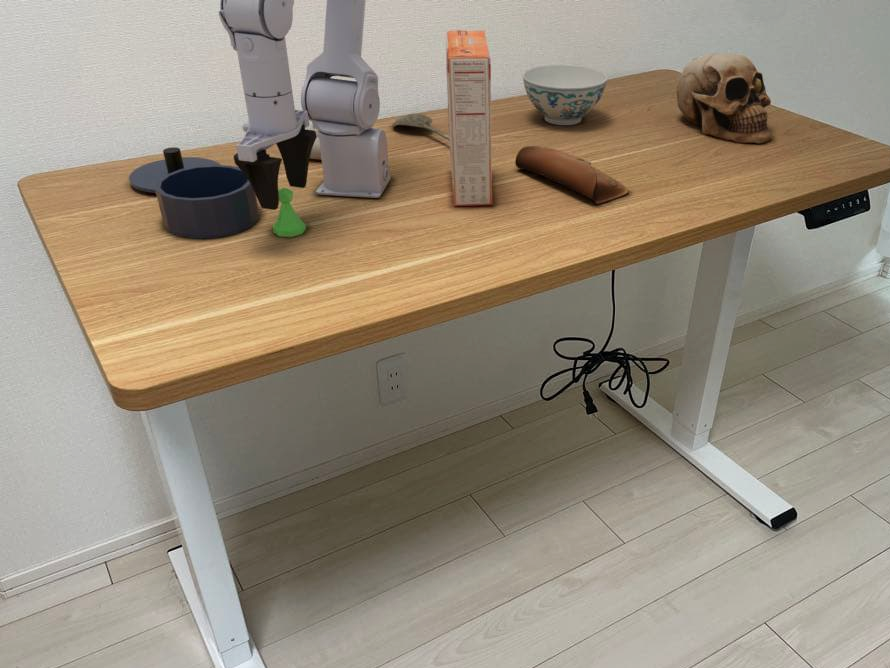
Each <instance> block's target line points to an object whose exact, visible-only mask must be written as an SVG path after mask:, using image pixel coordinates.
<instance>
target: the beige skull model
mask: <svg viewBox="0 0 890 668" xmlns="http://www.w3.org/2000/svg"><path fill="white" fill-rule="evenodd" d="M676 104H677V107H678V110H680V112H681V113H682V114H683V116H684V117H685V118H686V120H687V121H688V122H690V124H692V125H696V126H700V127H701V133H702V134H703V135H710V136H712V137H715V138H718V139H721V140H726V141H733V142H735V143H738V144H739V143H740V144H751V143H752V144H763V143H768V142H769V141H771V140H772V133H771V131H770V129H769V127H768V112H767V110H766V109H765V108H766V107H768V106H770V105H771V104H772V100H771V98H770V96H769V95H768V94H767V89H766V86H765V83H764V77H763V73H762V72H760V71H758V70H757V68H756V66H755V64H754V63H753V61H752V60H751V59H749V58H748V57H747V56H746V55H743V54H737V53H732V52H714V53H713V52H712V53H707V54H702V55H701V56H697V57H695V58H693V59H691V61H689V62H688V63H687V64H686V65H685V66H684V67H683V69H682V72H681V73H680V76H679V78H678V82H677V85H676Z"/></svg>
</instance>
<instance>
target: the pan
mask: <svg viewBox="0 0 890 668" xmlns="http://www.w3.org/2000/svg"><path fill="white" fill-rule="evenodd" d="M155 191H156V193H155V195H156V200H157V203H158V207H159V211H160V215H161V220H162V223H163V226H164V227H165V230H167V231H168V232H169V233H171V234H172V235H175V236H178V237H181V238H187V239H197V240H198V239H201V240H202V239H203V240H204V239H205V240H206V239H215V238H216V239H217V238H222V237H228V236H233V235H236V234H238V233H241V232H243V231H246V230H248V229H250V228H251V227H253V226H254V225H255V224H256V223H257V222H258V221H259V219H260V210H259V202H258V199H257V196H256V194H255V192H254V190H253V188H252V186H251V184H250V182H249V181H248V179H247V178H246V176H245V175H244V173H243V172H242V171H241V170H240V168H239V167H238V166H234V165H226V164H221V165H204V166H194V167H189V168H185V169H180V170H177V171H175V172H172V173H170V174H167V175H165V176H164V177H162V178H161V179H160V180H158V181H157V182H156V187H155Z"/></svg>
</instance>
